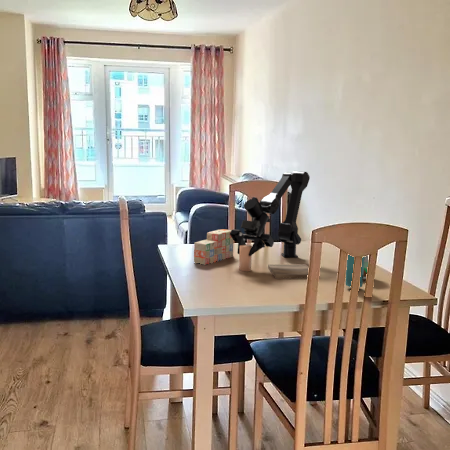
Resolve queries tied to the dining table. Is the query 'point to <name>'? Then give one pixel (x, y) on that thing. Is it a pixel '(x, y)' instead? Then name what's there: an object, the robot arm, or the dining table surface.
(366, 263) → the food container
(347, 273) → the beverage bottle
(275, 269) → the tan flat square block
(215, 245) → the stack of blocks
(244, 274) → the dining table surface
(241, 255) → the terracotta cylinder
